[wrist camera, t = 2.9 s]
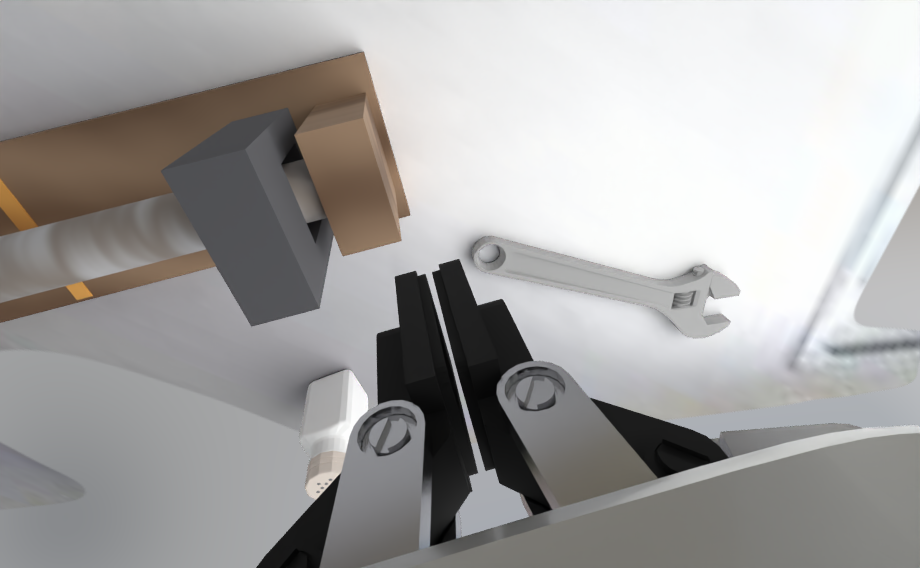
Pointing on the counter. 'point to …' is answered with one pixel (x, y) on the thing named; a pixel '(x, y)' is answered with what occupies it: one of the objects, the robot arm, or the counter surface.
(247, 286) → the collar
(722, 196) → the counter surface
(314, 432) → the salt shaker
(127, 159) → the pipe stand
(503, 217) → the counter surface
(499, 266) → the adjustable wrench
